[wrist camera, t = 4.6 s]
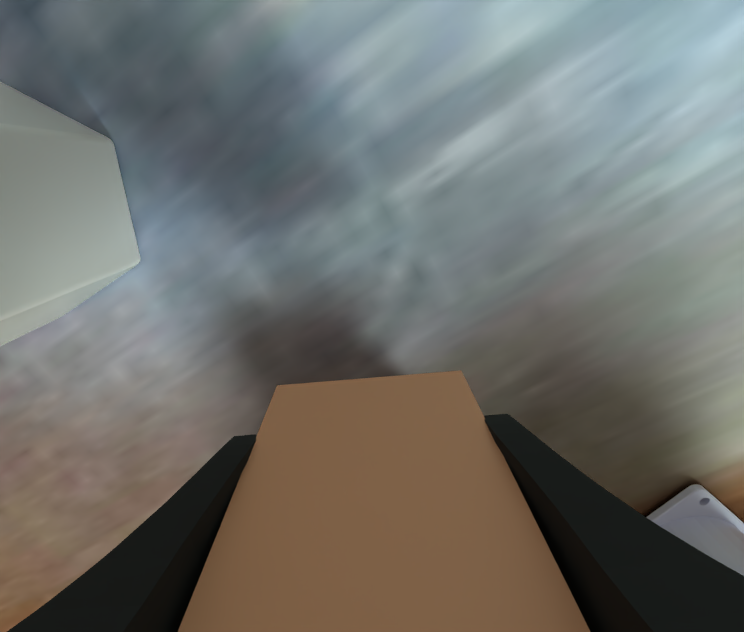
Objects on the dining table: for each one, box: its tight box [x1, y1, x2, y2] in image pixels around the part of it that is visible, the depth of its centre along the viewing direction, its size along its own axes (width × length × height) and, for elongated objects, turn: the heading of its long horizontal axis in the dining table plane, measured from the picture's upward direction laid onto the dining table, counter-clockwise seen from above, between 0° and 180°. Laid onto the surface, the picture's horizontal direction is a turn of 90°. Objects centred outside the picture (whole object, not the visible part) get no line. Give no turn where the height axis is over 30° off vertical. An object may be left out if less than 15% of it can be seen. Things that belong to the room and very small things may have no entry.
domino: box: [178, 370, 590, 632], centre depth 7 cm, size 2×5×8 cm, turn 95°
